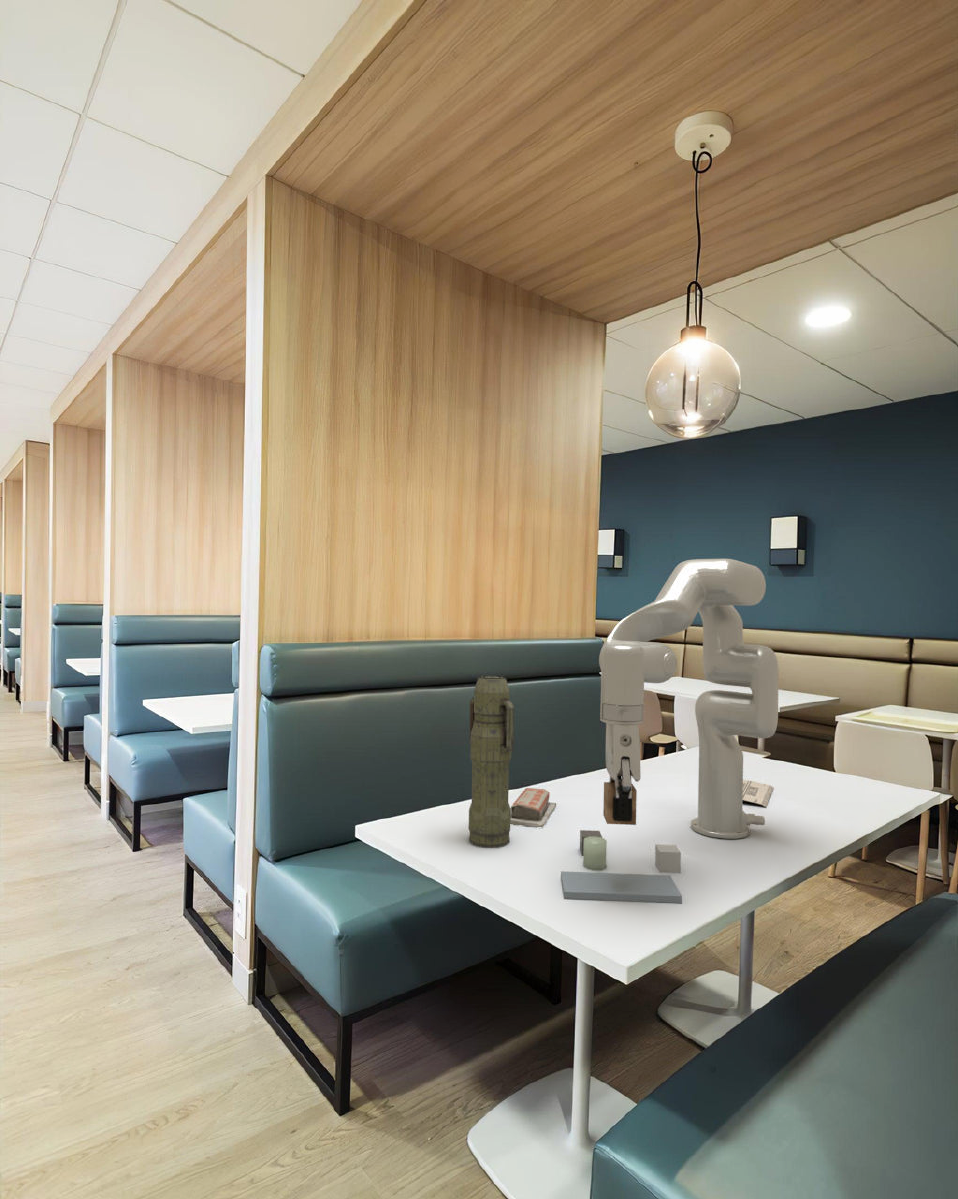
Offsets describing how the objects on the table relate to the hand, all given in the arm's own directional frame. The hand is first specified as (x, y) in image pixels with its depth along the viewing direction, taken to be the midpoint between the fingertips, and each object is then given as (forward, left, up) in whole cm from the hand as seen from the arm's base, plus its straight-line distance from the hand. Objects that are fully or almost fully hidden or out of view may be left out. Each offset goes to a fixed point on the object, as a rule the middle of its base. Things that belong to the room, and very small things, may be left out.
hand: (619, 814), depth 123 cm
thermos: (+24, -23, -14) cm, 36 cm away
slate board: (0, 0, -14) cm, 14 cm away
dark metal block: (+3, -18, -14) cm, 23 cm away
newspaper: (-44, -66, -14) cm, 80 cm away
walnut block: (0, 0, -1) cm, 1 cm away
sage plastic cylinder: (+3, -11, -14) cm, 18 cm away
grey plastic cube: (-11, -11, -14) cm, 21 cm away
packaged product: (+15, -42, -14) cm, 47 cm away
